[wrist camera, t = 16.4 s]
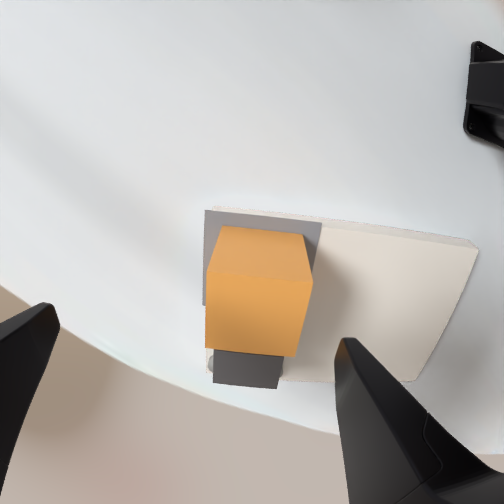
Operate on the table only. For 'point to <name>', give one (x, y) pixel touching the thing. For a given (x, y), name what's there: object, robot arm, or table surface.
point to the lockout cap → (257, 291)
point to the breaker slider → (246, 369)
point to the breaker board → (362, 289)
